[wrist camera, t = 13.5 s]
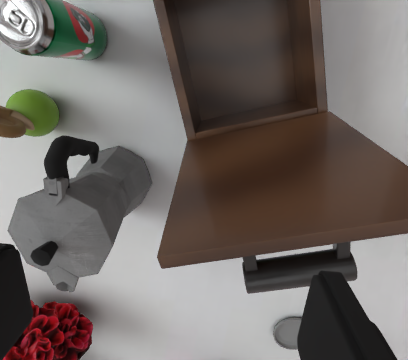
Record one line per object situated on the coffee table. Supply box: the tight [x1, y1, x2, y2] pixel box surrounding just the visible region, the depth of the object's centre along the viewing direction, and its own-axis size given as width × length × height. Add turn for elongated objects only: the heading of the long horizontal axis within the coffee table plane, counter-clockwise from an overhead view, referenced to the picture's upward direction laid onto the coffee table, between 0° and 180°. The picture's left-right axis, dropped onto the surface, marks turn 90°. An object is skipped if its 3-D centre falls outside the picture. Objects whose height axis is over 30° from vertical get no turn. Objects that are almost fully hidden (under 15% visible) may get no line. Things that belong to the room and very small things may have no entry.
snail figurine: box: [0, 89, 59, 138], centre depth 30 cm, size 5×6×12 cm
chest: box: [153, 0, 328, 141], centre depth 28 cm, size 15×13×8 cm
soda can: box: [0, 0, 107, 60], centre depth 26 cm, size 5×5×12 cm
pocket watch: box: [273, 318, 302, 350], centre depth 42 cm, size 8×8×10 cm
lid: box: [157, 112, 408, 294], centre depth 20 cm, size 16×13×5 cm
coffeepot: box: [8, 136, 152, 292], centre depth 30 cm, size 15×9×18 cm, turn 173°
